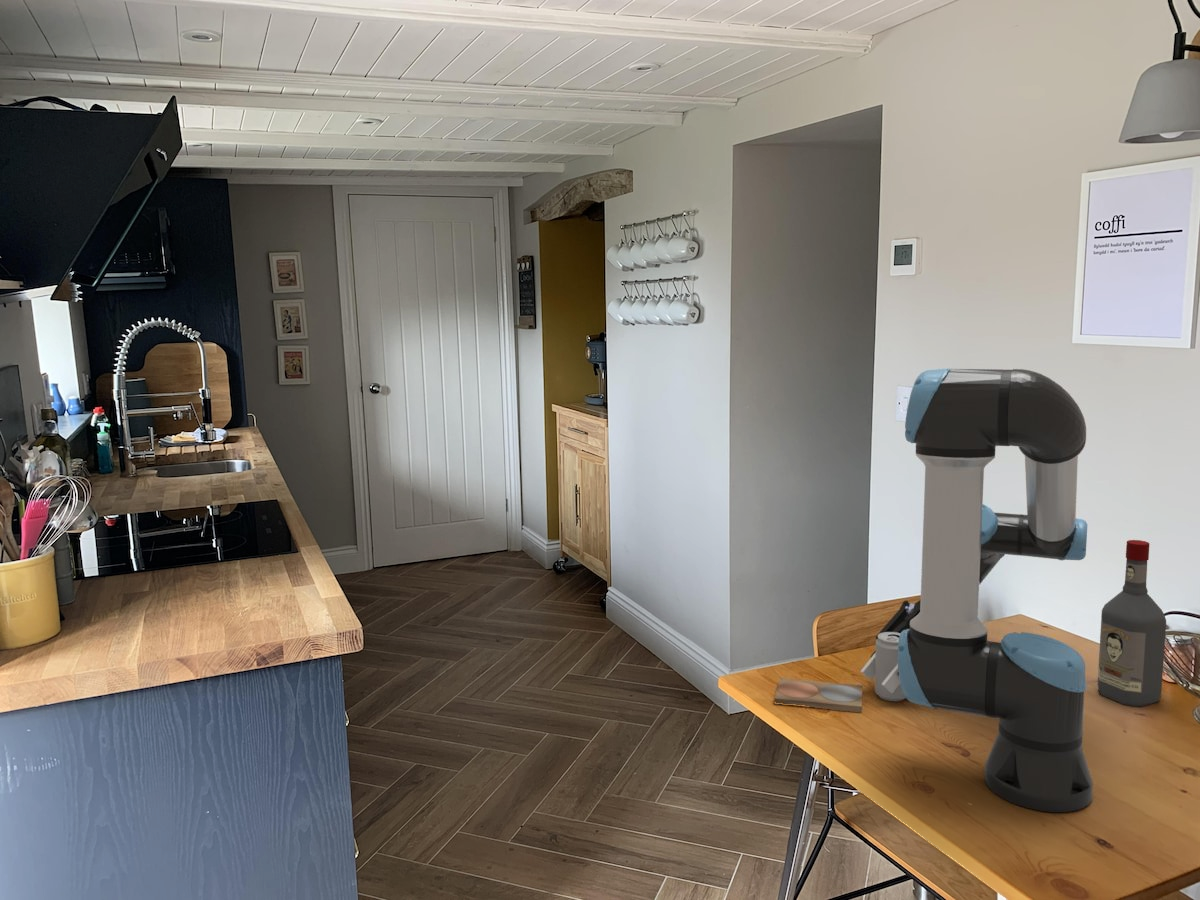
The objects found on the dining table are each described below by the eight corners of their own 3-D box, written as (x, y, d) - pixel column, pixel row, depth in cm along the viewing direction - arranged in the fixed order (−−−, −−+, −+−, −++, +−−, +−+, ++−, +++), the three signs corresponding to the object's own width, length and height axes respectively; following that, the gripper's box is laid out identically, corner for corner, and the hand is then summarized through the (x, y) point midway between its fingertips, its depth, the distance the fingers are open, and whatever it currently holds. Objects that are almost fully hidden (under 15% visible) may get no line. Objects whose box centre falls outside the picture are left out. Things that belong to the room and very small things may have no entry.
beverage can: (912, 693, 177) (914, 634, 175) (904, 705, 172) (906, 644, 170) (879, 686, 181) (880, 628, 179) (870, 698, 175) (871, 638, 173)
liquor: (1123, 682, 179) (1132, 534, 175) (1167, 700, 171) (1178, 544, 166) (1090, 691, 176) (1098, 539, 171) (1133, 709, 167) (1143, 551, 163)
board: (861, 712, 169) (861, 706, 169) (774, 704, 174) (774, 697, 174) (862, 691, 179) (862, 684, 178) (779, 683, 183) (779, 677, 183)
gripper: (995, 615, 169) (919, 713, 167) (928, 587, 187) (858, 675, 185) (973, 591, 167) (895, 690, 164) (907, 565, 185) (836, 653, 182)
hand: (876, 682), depth 175 cm, fingers closed on beverage can, 6 cm apart
